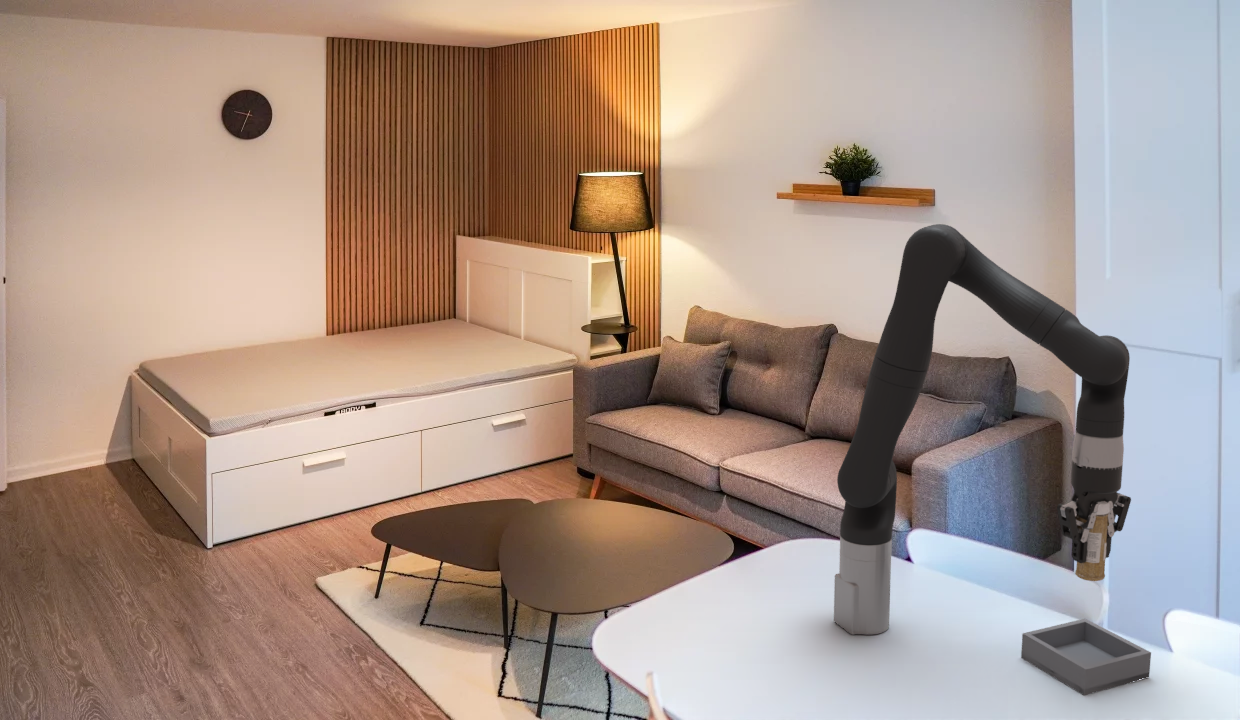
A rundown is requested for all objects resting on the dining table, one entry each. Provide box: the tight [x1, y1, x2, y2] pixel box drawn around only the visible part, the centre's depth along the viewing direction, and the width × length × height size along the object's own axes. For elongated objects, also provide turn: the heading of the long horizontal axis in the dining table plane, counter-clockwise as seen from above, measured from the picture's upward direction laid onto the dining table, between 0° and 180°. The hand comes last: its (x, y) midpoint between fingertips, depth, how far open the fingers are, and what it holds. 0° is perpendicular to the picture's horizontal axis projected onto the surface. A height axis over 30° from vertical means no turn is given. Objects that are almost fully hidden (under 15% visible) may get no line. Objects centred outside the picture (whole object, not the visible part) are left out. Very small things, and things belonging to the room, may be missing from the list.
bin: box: [1020, 618, 1152, 696], centre depth 177 cm, size 14×14×4 cm
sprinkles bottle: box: [1075, 501, 1110, 582], centre depth 173 cm, size 5×5×14 cm
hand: (1090, 558), depth 174 cm, fingers closed on sprinkles bottle, 4 cm apart
